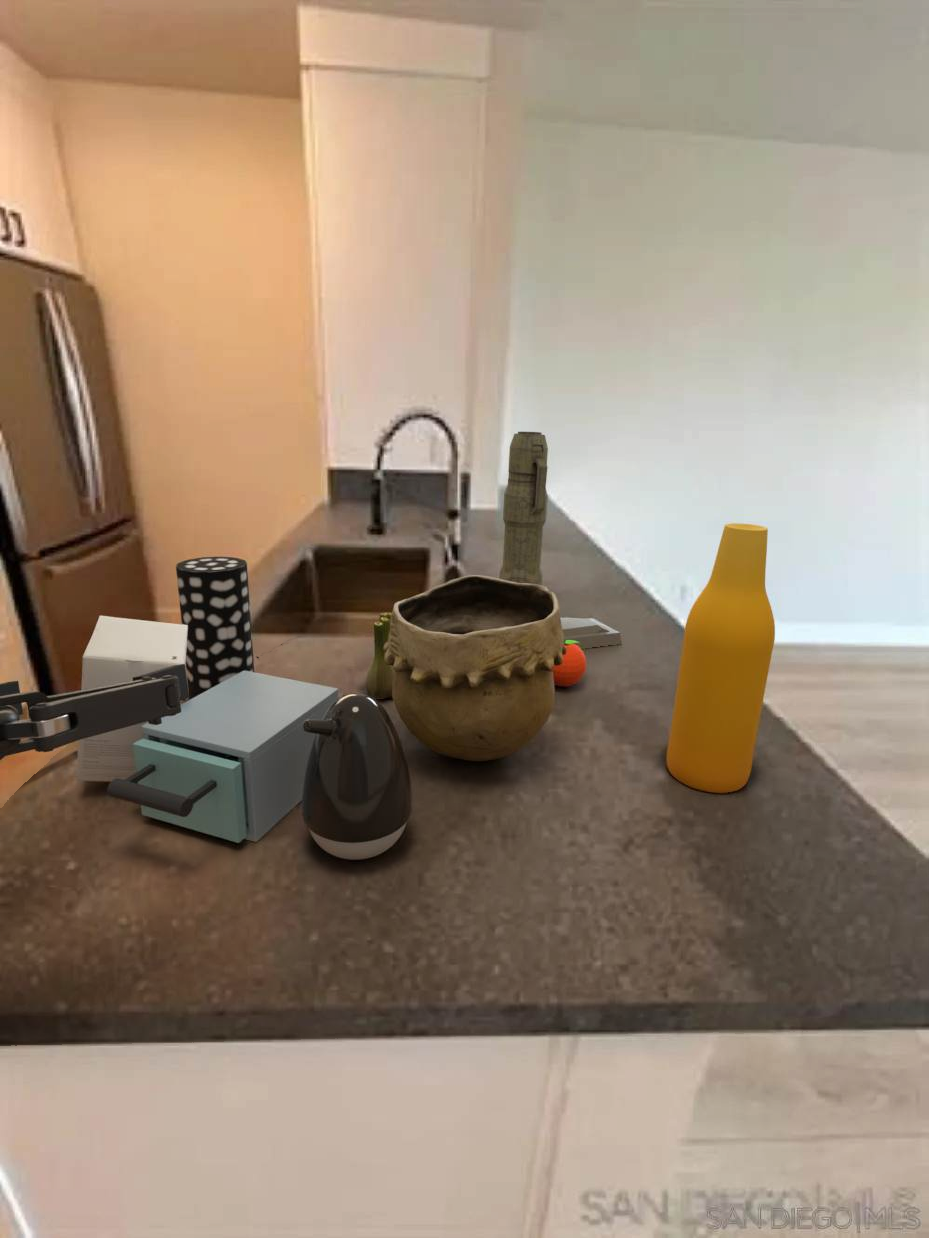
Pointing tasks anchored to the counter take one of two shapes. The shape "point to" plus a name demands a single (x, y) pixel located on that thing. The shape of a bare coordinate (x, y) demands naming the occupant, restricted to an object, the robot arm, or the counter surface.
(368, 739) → the pump dispenser
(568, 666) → the clementine
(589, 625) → the soap mold
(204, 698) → the small drawer unit
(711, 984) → the counter surface
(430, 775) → the counter surface
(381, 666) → the fennel bulb
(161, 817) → the mint green drawer
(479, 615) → the clay pot
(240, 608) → the white-spotted black cylinder
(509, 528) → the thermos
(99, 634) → the rectangular carton
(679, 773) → the beer bottle
